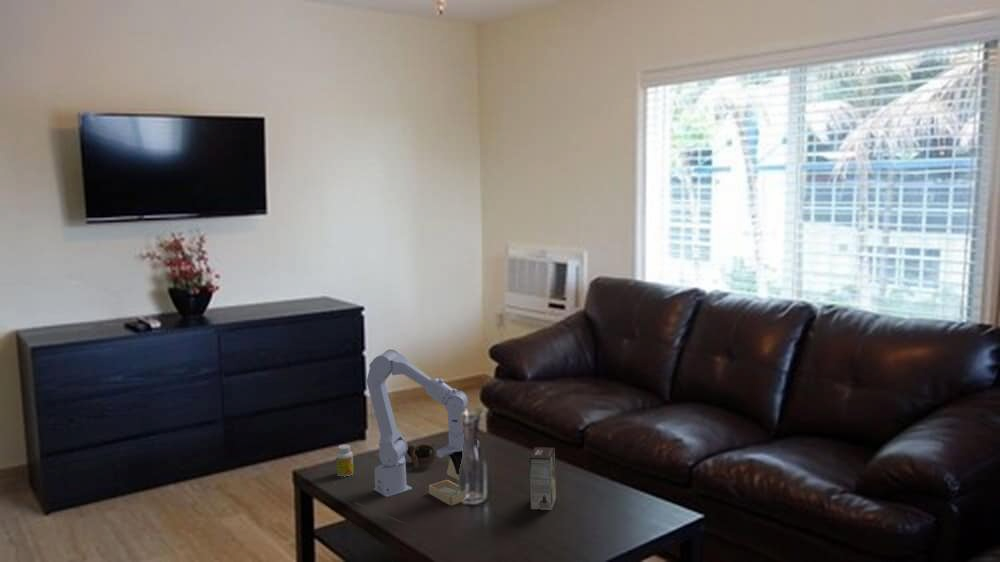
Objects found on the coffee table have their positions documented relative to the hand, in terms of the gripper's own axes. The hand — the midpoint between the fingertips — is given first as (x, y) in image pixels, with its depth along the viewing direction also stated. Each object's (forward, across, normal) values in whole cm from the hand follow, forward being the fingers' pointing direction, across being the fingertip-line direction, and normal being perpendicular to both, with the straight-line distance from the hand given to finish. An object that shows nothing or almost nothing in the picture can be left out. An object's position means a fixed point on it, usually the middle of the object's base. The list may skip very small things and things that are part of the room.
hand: (459, 474), depth 243 cm
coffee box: (+7, +15, -22) cm, 28 cm away
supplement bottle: (+7, -19, +39) cm, 44 cm away
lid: (-1, +1, 0) cm, 2 cm away
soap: (+6, -4, 0) cm, 8 cm away
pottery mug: (+7, +5, +30) cm, 31 cm away
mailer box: (+6, -4, 0) cm, 8 cm away
